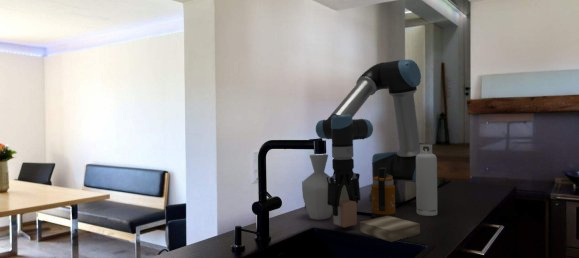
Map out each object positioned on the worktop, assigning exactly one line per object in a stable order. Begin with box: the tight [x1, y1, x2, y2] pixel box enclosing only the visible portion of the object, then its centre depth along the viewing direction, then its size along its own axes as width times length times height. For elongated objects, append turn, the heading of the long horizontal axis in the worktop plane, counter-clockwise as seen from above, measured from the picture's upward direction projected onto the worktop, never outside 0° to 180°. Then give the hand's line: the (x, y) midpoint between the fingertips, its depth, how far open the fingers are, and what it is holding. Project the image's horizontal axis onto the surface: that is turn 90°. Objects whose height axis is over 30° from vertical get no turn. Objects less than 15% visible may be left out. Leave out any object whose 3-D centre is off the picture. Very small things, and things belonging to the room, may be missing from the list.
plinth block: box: [359, 216, 421, 243], centre depth 134 cm, size 14×14×4 cm
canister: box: [370, 167, 396, 219], centre depth 153 cm, size 9×11×20 cm
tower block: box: [332, 199, 358, 228], centre depth 140 cm, size 6×6×8 cm
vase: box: [301, 153, 333, 221], centre depth 158 cm, size 14×14×25 cm
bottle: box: [415, 143, 438, 217], centre depth 160 cm, size 8×8×28 cm
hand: (344, 222), depth 140 cm, fingers closed on tower block, 6 cm apart
